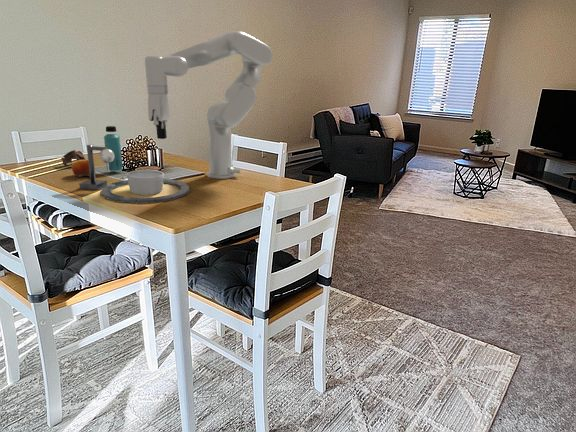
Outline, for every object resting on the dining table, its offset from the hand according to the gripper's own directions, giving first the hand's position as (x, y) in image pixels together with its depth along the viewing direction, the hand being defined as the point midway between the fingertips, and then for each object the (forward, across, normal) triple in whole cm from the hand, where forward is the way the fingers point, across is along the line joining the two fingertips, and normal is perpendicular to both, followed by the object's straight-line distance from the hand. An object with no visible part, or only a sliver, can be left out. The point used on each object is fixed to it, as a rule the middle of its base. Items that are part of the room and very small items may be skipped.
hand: (162, 138), depth 165 cm
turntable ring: (+17, +16, -1) cm, 24 cm away
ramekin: (+18, +16, -1) cm, 24 cm away
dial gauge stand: (+17, +16, -19) cm, 30 cm away
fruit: (+17, +1, -35) cm, 39 cm away
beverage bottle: (+17, -8, -26) cm, 32 cm away
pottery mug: (+17, -16, -48) cm, 54 cm away
